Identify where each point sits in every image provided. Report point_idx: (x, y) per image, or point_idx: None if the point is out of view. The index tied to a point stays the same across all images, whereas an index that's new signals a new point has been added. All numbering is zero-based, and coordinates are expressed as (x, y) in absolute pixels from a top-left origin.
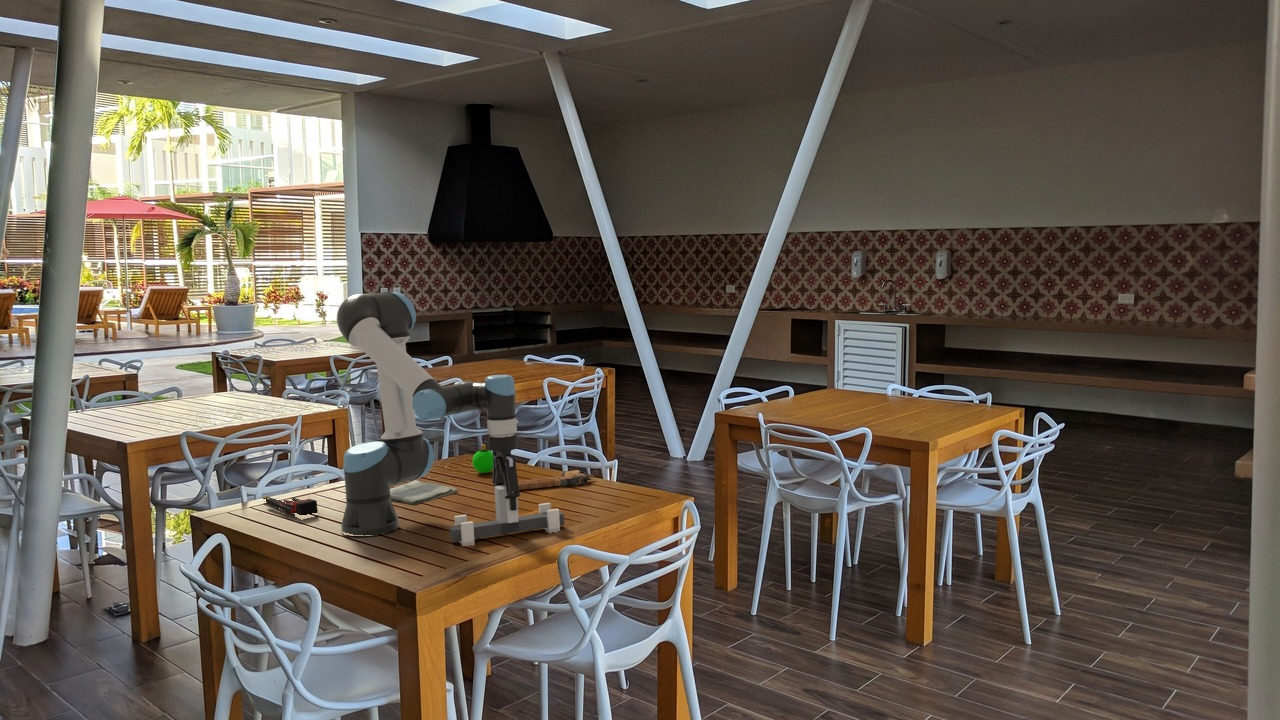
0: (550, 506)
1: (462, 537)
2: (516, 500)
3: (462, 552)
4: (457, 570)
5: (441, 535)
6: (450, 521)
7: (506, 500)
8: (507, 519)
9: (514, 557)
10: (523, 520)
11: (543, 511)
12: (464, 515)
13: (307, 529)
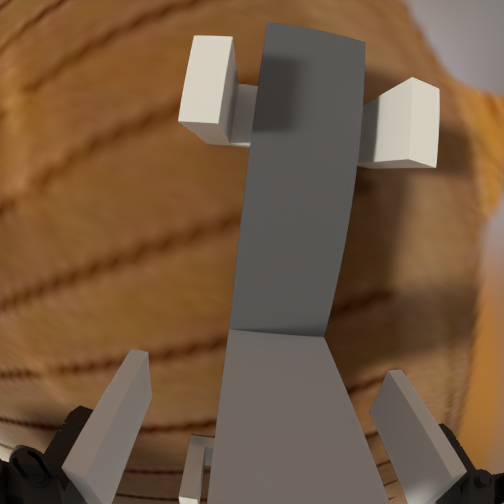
0: (232, 48)
1: None
2: (454, 459)
3: None
4: None
5: (139, 457)
6: (19, 383)
7: (410, 501)
8: (375, 422)
9: (472, 373)
10: (329, 308)
11: (226, 109)
12: (190, 501)
13: None
